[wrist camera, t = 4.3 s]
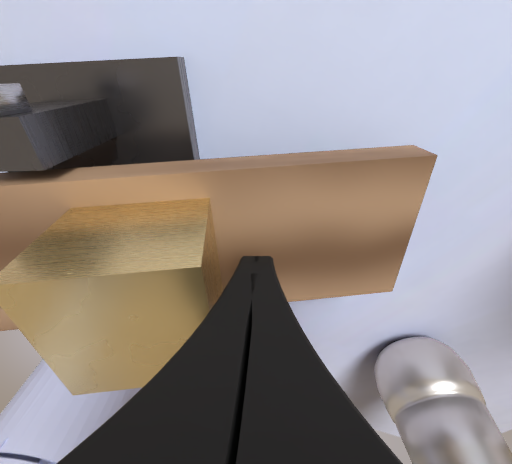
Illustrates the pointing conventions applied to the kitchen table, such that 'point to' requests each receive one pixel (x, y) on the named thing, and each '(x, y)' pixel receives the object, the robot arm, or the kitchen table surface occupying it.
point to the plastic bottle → (437, 405)
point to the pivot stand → (95, 114)
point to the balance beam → (254, 211)
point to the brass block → (115, 290)
